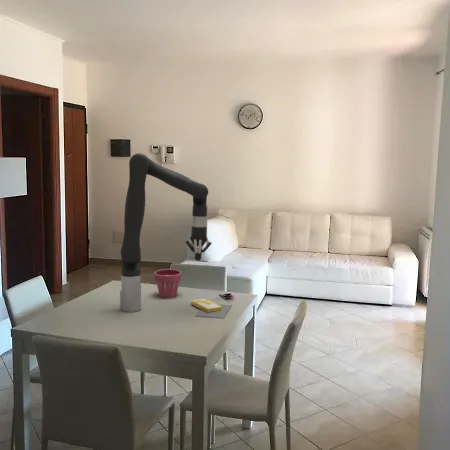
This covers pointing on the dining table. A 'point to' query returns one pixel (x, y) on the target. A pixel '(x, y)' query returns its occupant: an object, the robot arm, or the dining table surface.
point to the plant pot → (167, 282)
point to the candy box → (206, 305)
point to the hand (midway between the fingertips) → (198, 260)
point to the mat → (215, 312)
